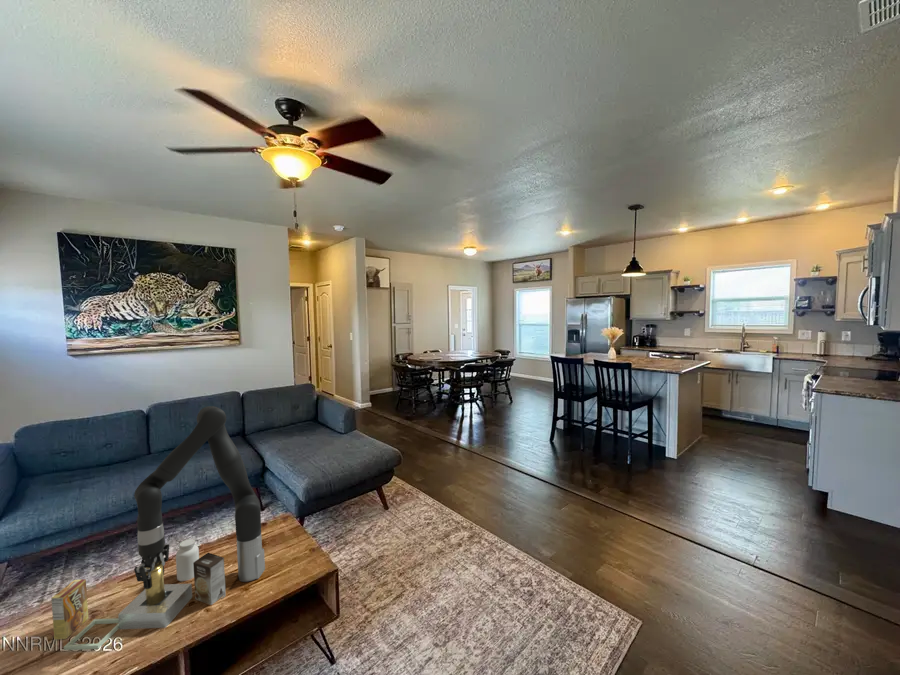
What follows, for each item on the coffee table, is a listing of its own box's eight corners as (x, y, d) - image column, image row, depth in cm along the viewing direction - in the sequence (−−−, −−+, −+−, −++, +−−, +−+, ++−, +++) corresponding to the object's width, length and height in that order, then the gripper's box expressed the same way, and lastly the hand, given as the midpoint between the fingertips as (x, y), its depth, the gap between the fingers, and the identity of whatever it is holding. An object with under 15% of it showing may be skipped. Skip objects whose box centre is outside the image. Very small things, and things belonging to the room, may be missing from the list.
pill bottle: (204, 570, 160) (202, 537, 159) (189, 584, 152) (187, 549, 151) (187, 569, 161) (185, 536, 160) (172, 582, 153) (169, 548, 152)
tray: (126, 623, 133) (126, 618, 133) (98, 651, 122) (97, 645, 122) (95, 624, 133) (94, 619, 133) (64, 652, 122) (63, 646, 122)
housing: (192, 599, 144) (191, 583, 144) (166, 630, 130) (165, 612, 130) (150, 600, 144) (149, 584, 143) (119, 631, 130) (118, 614, 129)
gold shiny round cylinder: (168, 593, 139) (166, 562, 138) (157, 605, 134) (155, 572, 133) (153, 594, 139) (151, 562, 138) (142, 605, 134) (139, 572, 133)
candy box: (77, 619, 135) (73, 579, 134) (89, 618, 136) (86, 578, 135) (53, 640, 126) (49, 598, 125) (67, 639, 127) (63, 597, 126)
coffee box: (194, 602, 143) (191, 562, 142) (209, 590, 149) (207, 552, 148) (211, 607, 140) (209, 567, 139) (226, 595, 146) (224, 556, 145)
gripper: (146, 550, 128) (149, 596, 129) (175, 526, 142) (178, 568, 143) (124, 551, 127) (127, 597, 129) (155, 526, 142) (158, 568, 143)
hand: (154, 581), depth 136 cm, fingers closed on gold shiny round cylinder, 5 cm apart
